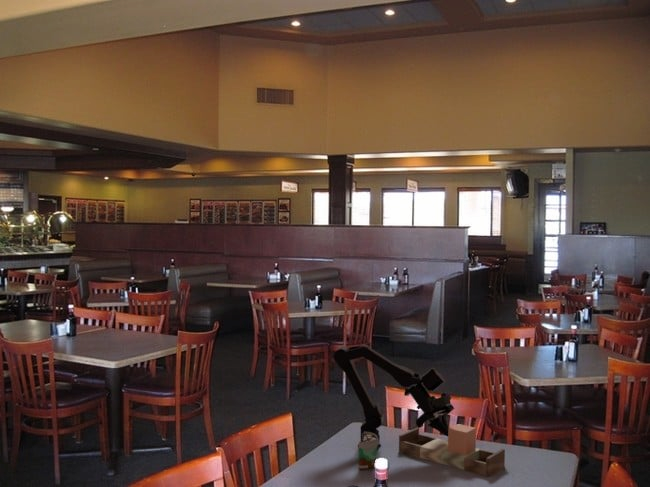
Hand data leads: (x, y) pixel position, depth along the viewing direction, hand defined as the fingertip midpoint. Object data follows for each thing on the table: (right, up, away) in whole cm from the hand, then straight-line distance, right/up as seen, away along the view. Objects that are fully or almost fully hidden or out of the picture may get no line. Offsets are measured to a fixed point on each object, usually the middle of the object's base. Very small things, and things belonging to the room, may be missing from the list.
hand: (449, 435), depth 228 cm
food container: (-29, -8, -8) cm, 31 cm away
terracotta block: (+4, -4, -3) cm, 7 cm away
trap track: (0, -8, 0) cm, 8 cm away
